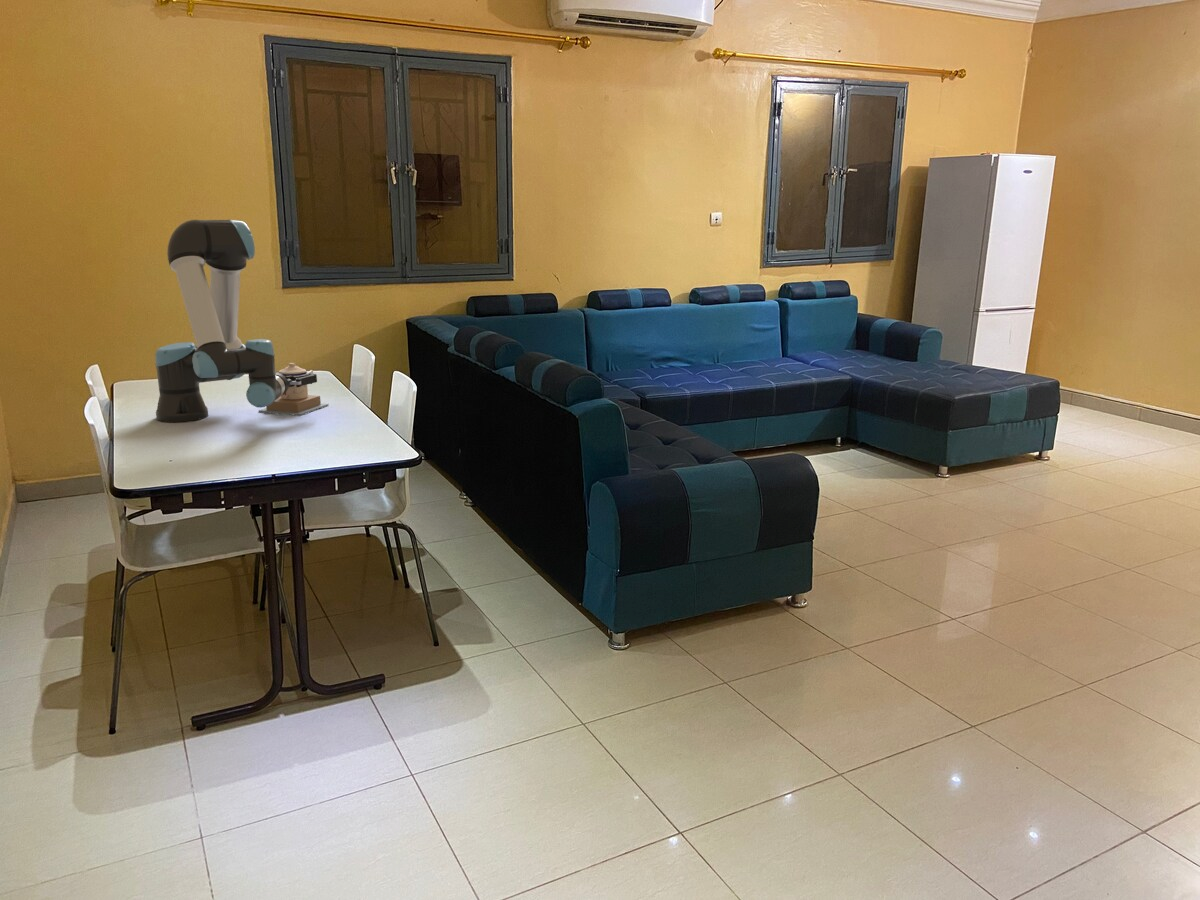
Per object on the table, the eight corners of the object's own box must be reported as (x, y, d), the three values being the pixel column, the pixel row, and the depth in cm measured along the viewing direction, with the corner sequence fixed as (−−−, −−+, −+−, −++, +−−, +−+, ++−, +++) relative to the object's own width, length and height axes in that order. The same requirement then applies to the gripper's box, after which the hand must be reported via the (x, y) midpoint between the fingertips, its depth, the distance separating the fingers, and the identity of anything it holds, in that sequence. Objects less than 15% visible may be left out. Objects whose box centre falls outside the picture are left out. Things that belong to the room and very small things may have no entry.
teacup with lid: (279, 395, 297) (276, 361, 294) (307, 394, 301) (304, 360, 298) (282, 402, 287) (279, 367, 284) (311, 400, 290) (308, 365, 287)
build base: (258, 412, 289) (257, 401, 288) (288, 402, 304) (287, 392, 303) (300, 415, 285) (299, 404, 284) (328, 405, 300) (327, 395, 299)
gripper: (232, 398, 270) (253, 385, 290) (315, 398, 272) (330, 385, 292) (230, 374, 268) (251, 363, 288) (313, 374, 270) (328, 362, 290)
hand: (291, 374), depth 290 cm, fingers open, 13 cm apart
